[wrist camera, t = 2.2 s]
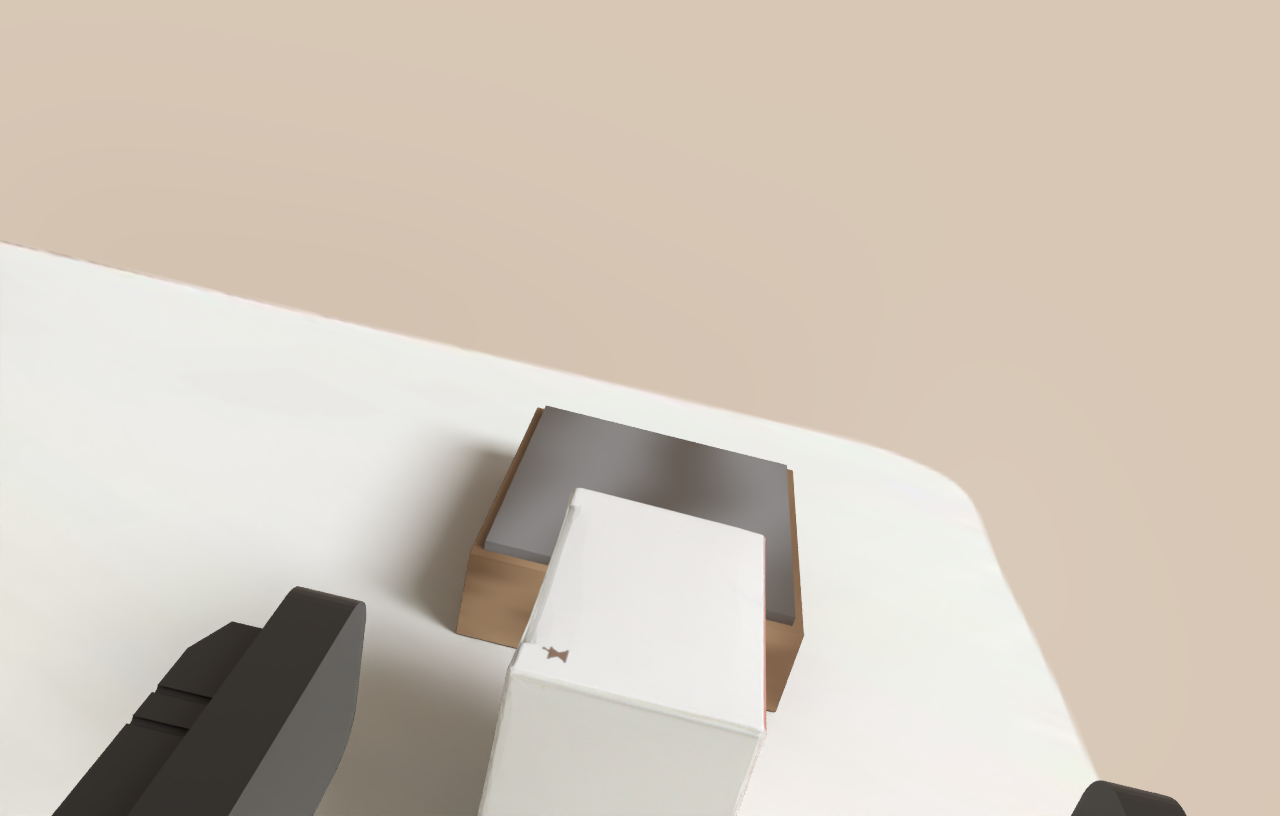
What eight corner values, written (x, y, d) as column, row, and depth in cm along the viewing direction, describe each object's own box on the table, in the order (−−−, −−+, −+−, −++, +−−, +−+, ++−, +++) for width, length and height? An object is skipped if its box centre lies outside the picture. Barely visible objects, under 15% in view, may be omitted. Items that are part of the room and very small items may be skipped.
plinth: (455, 633, 36) (471, 543, 35) (524, 473, 47) (539, 399, 45) (775, 712, 36) (807, 627, 35) (771, 534, 47) (795, 463, 45)
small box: (655, 1050, 25) (772, 740, 20) (436, 992, 25) (503, 671, 20) (682, 800, 32) (772, 529, 27) (512, 756, 32) (574, 479, 27)
